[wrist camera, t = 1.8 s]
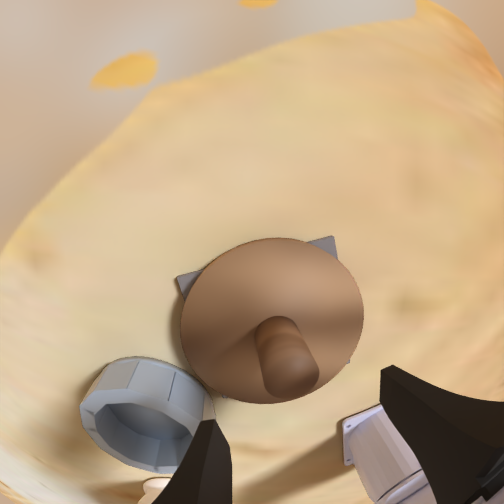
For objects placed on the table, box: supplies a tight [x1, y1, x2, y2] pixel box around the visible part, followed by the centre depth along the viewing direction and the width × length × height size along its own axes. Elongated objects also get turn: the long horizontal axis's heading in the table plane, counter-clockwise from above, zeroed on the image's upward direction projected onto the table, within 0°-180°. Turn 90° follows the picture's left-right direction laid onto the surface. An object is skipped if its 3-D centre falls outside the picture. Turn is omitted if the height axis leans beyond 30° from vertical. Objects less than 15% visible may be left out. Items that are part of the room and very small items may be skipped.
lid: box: [180, 238, 364, 404], centre depth 15 cm, size 12×12×6 cm
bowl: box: [79, 356, 216, 474], centre depth 17 cm, size 10×10×4 cm
